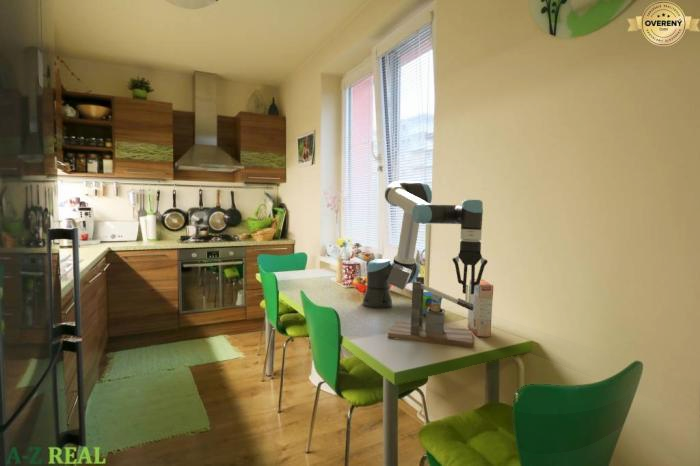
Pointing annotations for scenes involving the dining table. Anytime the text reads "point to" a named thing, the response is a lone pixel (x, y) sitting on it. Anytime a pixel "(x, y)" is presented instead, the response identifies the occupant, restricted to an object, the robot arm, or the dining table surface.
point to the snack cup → (429, 301)
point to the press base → (432, 338)
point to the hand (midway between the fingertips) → (467, 302)
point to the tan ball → (435, 307)
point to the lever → (401, 277)
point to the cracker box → (481, 309)
